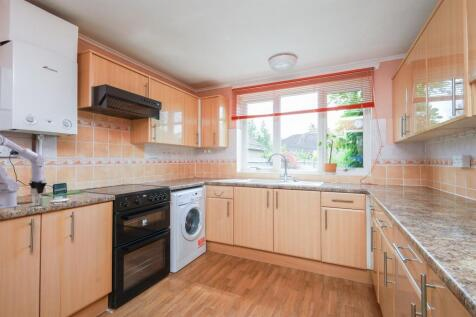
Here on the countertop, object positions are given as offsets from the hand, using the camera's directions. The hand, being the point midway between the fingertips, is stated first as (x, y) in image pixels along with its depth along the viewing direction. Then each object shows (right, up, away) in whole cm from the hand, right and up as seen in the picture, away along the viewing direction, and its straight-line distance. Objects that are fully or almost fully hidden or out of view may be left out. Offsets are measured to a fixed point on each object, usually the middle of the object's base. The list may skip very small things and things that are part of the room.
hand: (37, 193), depth 150 cm
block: (+13, -6, -10) cm, 18 cm away
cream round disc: (+11, -6, +1) cm, 13 cm away
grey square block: (0, -1, 0) cm, 1 cm away
